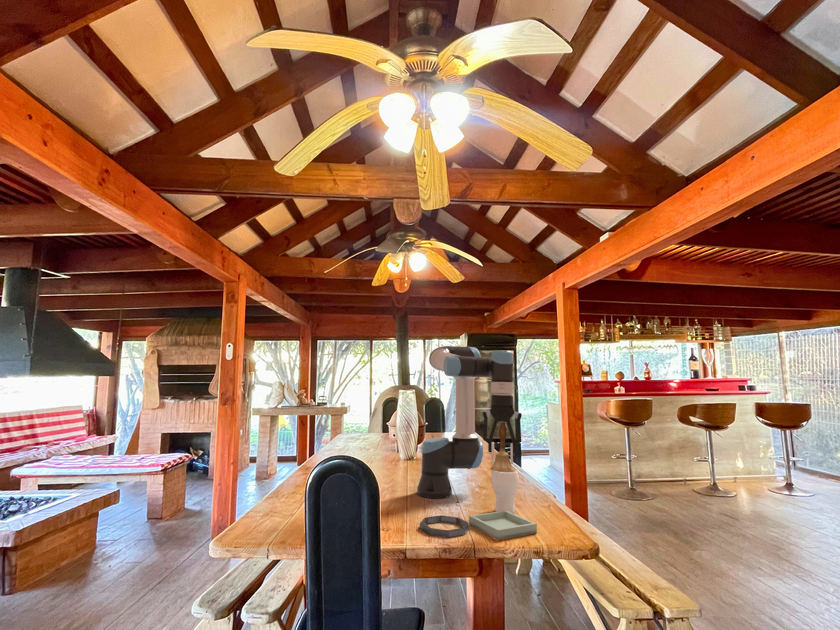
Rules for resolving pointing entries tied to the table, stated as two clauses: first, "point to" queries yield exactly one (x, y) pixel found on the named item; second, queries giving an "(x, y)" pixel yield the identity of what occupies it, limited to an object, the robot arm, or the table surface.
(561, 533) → the table surface
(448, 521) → the collar
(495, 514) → the green square tray
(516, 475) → the cup
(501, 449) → the hand bell
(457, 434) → the robot arm
